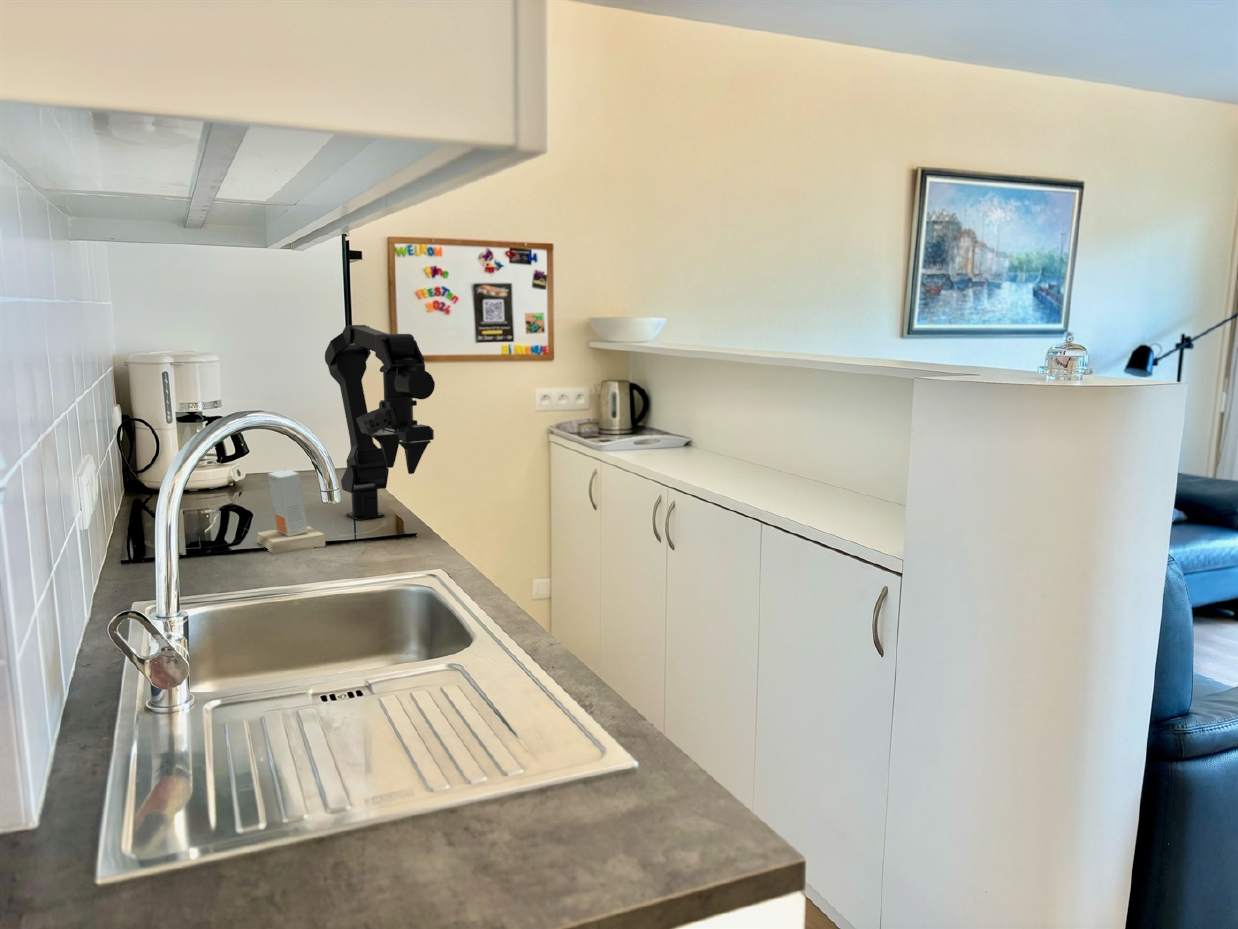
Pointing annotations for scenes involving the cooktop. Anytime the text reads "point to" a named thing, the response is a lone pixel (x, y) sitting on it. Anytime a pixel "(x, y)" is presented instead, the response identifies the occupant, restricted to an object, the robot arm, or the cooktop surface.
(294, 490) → the skincare box
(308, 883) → the cooktop surface
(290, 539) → the beech block
